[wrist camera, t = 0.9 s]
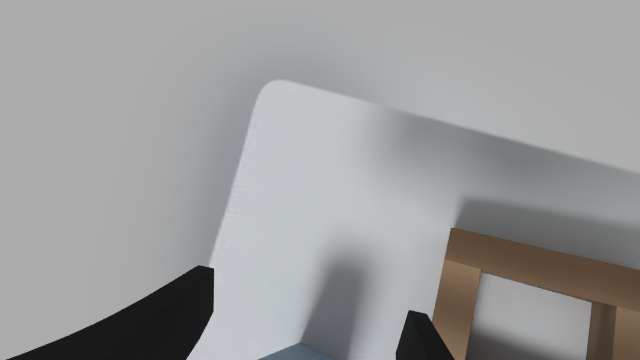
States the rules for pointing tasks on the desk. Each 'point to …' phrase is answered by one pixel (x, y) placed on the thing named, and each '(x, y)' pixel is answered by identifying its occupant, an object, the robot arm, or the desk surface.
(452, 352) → the walnut collar
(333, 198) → the desk surface
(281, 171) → the desk surface
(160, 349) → the robot arm
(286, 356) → the slate-blue peg
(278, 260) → the desk surface
